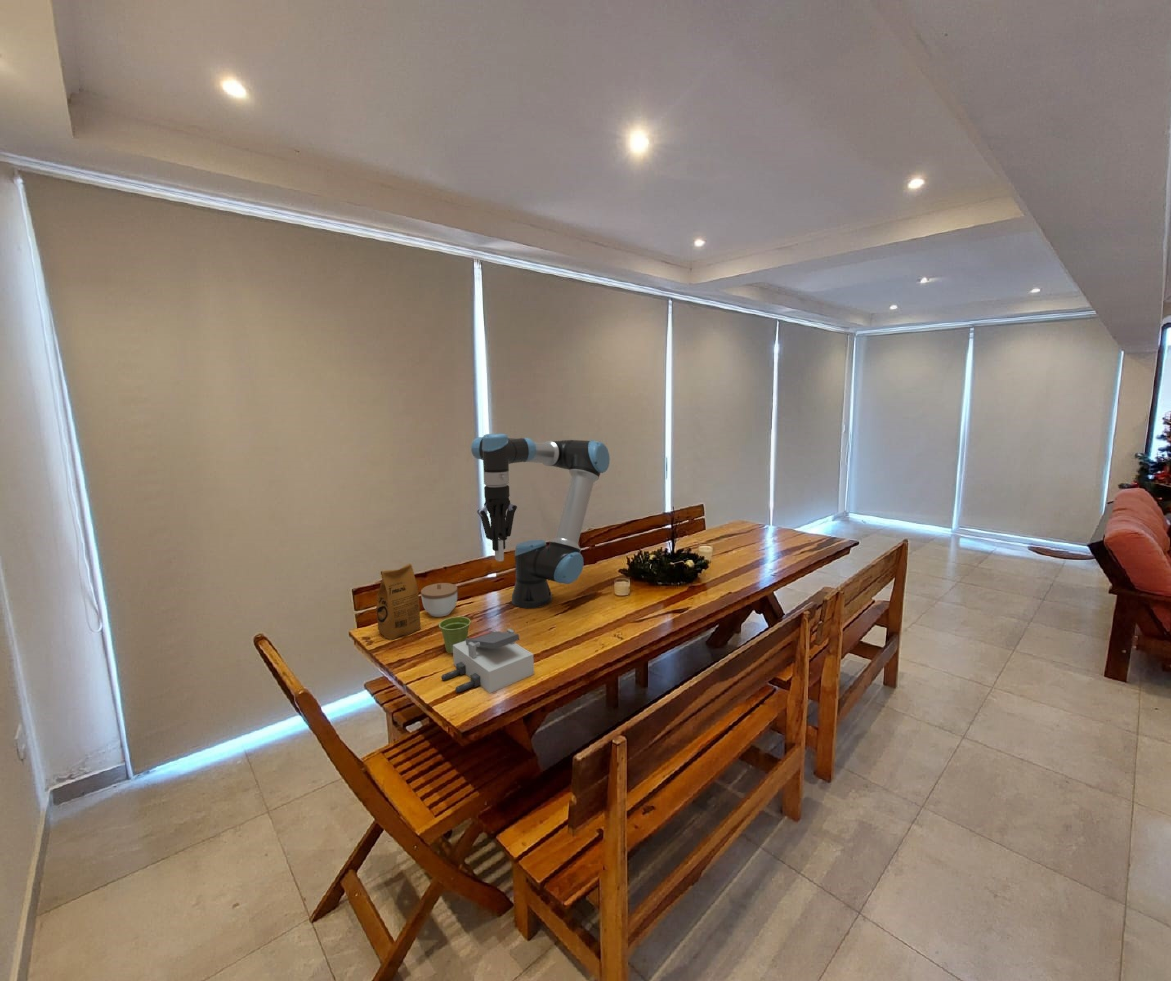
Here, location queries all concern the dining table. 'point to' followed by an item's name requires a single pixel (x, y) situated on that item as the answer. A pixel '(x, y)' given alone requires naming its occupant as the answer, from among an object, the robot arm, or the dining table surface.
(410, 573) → the coffee package
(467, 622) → the plant pot
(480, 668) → the switch box
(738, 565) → the dining table surface
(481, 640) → the rocker
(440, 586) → the lidded bowl
